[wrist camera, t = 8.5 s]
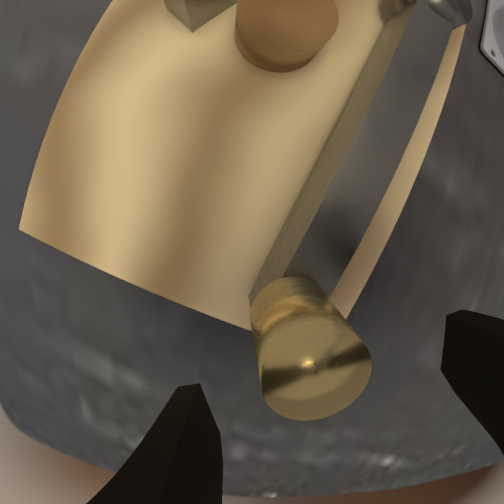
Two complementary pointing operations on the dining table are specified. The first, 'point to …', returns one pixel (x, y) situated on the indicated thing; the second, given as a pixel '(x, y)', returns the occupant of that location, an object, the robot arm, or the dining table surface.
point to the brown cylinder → (283, 31)
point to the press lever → (344, 219)
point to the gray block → (197, 11)
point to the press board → (204, 153)
